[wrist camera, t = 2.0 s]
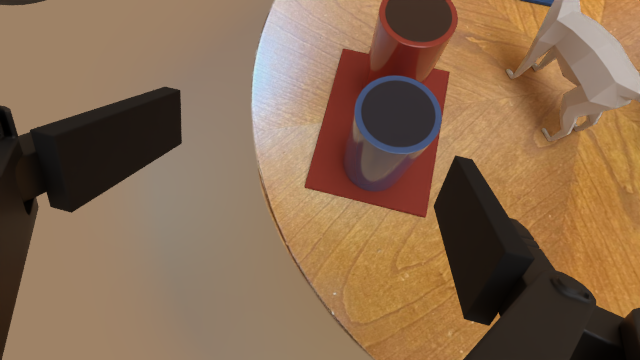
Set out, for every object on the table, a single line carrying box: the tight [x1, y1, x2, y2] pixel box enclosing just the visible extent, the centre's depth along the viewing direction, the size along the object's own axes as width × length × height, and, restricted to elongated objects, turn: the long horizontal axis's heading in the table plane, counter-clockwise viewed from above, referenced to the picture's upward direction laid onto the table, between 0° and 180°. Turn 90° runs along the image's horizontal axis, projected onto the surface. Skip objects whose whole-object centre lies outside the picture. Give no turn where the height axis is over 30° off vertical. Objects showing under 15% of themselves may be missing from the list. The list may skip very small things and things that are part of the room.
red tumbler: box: [362, 0, 458, 90], centre depth 32 cm, size 7×7×11 cm
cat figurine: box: [506, 0, 640, 141], centre depth 30 cm, size 4×20×14 cm, turn 20°
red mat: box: [305, 49, 449, 217], centre depth 36 cm, size 18×13×1 cm
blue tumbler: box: [343, 76, 442, 192], centre depth 29 cm, size 7×7×11 cm
